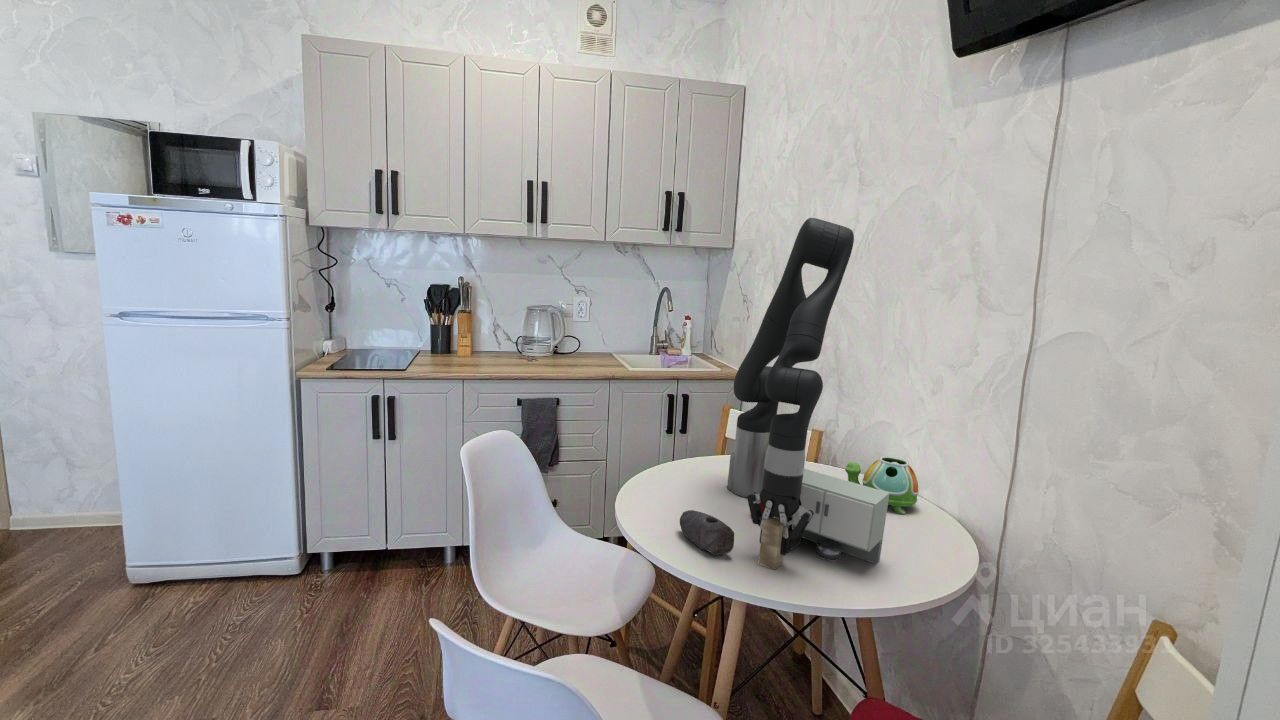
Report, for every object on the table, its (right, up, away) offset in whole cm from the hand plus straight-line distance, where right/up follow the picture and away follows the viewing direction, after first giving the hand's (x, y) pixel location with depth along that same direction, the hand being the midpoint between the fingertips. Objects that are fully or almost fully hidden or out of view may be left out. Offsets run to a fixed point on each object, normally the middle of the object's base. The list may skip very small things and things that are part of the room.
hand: (774, 549), depth 124 cm
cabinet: (+12, -2, +6) cm, 14 cm away
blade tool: (+3, -2, +4) cm, 5 cm away
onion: (+2, +1, +21) cm, 21 cm away
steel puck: (+12, -3, +5) cm, 14 cm away
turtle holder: (+36, +1, +36) cm, 51 cm away
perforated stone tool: (-14, -1, +6) cm, 15 cm away
